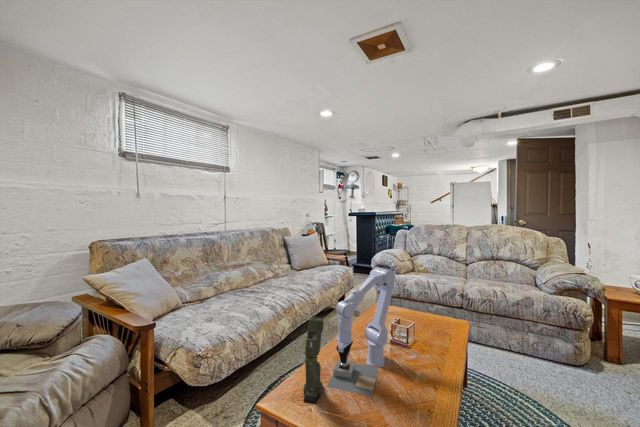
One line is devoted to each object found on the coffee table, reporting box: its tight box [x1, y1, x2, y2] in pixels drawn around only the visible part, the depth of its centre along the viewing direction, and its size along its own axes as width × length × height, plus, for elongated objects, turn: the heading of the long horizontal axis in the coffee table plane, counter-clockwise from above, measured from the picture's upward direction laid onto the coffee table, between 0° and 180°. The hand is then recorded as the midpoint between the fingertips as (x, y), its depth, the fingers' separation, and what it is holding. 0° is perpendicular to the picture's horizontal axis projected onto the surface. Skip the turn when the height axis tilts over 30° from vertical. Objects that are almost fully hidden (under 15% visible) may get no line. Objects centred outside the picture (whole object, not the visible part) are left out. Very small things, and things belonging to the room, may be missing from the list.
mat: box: [326, 362, 379, 398], centre depth 117 cm, size 20×18×1 cm
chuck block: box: [332, 359, 356, 380], centre depth 119 cm, size 8×8×3 cm
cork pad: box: [356, 376, 377, 392], centre depth 112 cm, size 7×7×1 cm
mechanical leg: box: [303, 315, 325, 405], centre depth 107 cm, size 14×7×30 cm, turn 169°
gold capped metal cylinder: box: [341, 352, 350, 370], centre depth 119 cm, size 3×3×8 cm
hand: (344, 360), depth 119 cm, fingers closed on gold capped metal cylinder, 3 cm apart
